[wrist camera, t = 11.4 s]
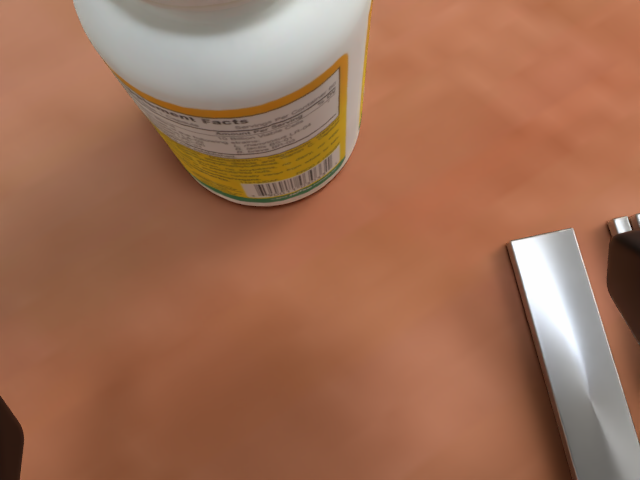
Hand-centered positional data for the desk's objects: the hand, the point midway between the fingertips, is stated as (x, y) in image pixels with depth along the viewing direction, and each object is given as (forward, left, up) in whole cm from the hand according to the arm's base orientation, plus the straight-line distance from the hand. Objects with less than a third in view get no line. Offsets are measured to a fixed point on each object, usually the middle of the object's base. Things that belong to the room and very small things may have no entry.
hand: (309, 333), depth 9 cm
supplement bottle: (+6, -2, -7) cm, 10 cm away
